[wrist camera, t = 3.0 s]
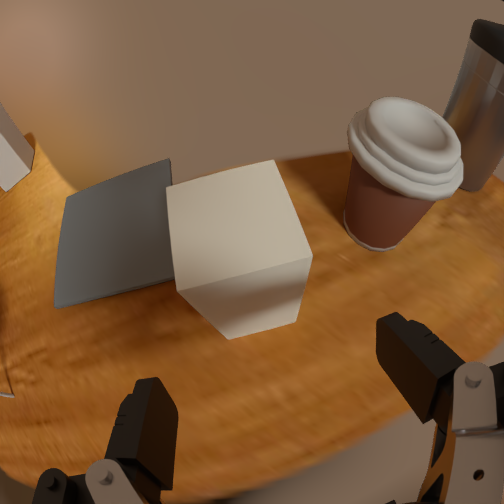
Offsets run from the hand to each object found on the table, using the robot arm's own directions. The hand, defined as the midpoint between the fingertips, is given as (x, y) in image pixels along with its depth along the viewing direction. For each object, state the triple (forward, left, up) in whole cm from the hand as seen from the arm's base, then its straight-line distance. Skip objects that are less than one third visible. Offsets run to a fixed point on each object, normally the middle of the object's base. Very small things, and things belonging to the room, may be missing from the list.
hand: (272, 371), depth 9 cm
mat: (+13, -18, -12) cm, 25 cm away
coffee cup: (-13, -11, -12) cm, 21 cm away
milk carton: (+37, -40, -12) cm, 56 cm away
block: (0, -7, -12) cm, 14 cm away
